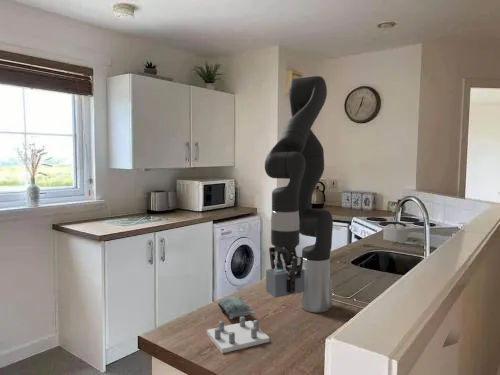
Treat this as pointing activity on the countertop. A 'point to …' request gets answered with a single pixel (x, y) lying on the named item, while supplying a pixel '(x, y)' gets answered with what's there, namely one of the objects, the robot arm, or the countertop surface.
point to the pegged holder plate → (237, 335)
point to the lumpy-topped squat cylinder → (395, 232)
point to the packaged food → (235, 307)
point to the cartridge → (282, 282)
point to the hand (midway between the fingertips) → (285, 289)
